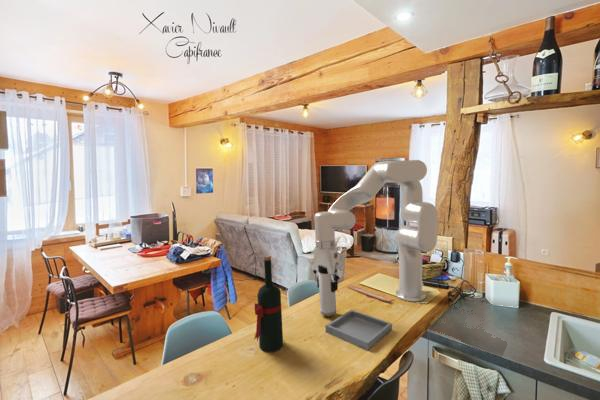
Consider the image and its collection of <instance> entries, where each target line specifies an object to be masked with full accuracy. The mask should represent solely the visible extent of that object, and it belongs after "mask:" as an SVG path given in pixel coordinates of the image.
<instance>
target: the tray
mask: <svg viewBox="0 0 600 400" xmlns="http://www.w3.org/2000/svg"><path fill="white" fill-rule="evenodd" d="M324 327H325V333H327V334H328V335H332V336H333V337H334V338H335V337H336V338H338V339H340V340H343V341H345V342H348V343H350V344H351V345H354V346H356V347H359V348H360V349H363V350H364V351H367V352H368V351H369V350H370V349H372V348H373V347H374V346H376V345H377V344H378V343H379V342H380V341H381V340H382V339H384V338H385V337H387V335H389V333H391V332H392V331H393V323H391V322H389V321H386V320H383V319H379V318H376V317H374V316H372V315H368V314H365V313H363V312H359V311H357V310H354V309H350V310H348V311H347V312H344V313H343V314H341V315H340V316H338V317H337V318H335V319H334V320H332V321H330V322H329V323H327V324H325V326H324Z"/></svg>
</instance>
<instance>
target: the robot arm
mask: <svg viewBox="0 0 600 400" xmlns="http://www.w3.org/2000/svg"><path fill="white" fill-rule="evenodd" d="M427 171H428V168H427V165H426V163H425V162H424V161H422V160H420V159H412V160H411V159H409V160H385V161H377V162H376V163H374V164H373V165H372V166H371V167H370V168H369V170H367V172H366V173H365V174H364V176H362V178H361V179H360V180H359V182H357V183H356V184H355V186H354V187H351V188H350V189H349V190H347V192H345V193H343V194H342V195H341V196H339V197H338V199H336V200H335V202H333V204H332V205H331V206H330V207H329V209H328V210H327V211H318V212H316V213H315V214H314V217H313V219H314V236H315V247H314V252H313V263H312V264H311V265H310V268H311V270H312V272H313V273H314V275H315V278H316V283H317V289H319V275H318V270H319V269H318V265H319V266H321V267H322V268H327V270H328V271H327V272H328V274H329V275H330V277H331V279H332V282H331V291H332V292H335V293H336V292H337V291H338V290H339V289H338V287H339V284H338V281H340V279H342V277H343V276H344V274H345V273H344V271H343V270H342V269H341V261H340V260H341V259H340V253H339V250H338V247H337V246H338V243H337V242H336V236H335V235H336V234H335V233H336V232H335V231H347V230H351V229H352V228H353V227H354V226H355V225H356V221H357V219H356V216H355V214H354V213H353V212H351V210H353V208H355V207H357V206H359V205H361V204H365V203H368V202H370V201H372V200H373V199H374V198H375V197H376V195H377V194H378V193H379V191H380V190H381V189H382V188H383V187H384V185H385V184H387V183H398V184H399V187H400V189H401V207H400V217H401V219H402V220H403V221H405V222H407V223H410V224H406V225H402V226H401V227H400V228H398V229H397V232H396V241H397V248H398V278H399V279H398V282H399V283H398V289H396V290H395V297H396V298H398V299H400V300H403V301H405V302H406V301H407V302H421V301H424V300H426V298H427V295H426V293H425V292H424V291H423V287H424V285H425V284H424V282H423V256H422V255H423V254H422V252H423V253H429V252H432V251H433V250H435V248H436V246H437V242H438V232H439V229H438V228H439V212H438V209H437V207H436V206H435V205H434V204H433V203H431V202H427V201H425V202H424V201H423V200H424V199H423V195H424V194H423V187H422V183H421V182H420V181H422V180H423V179H424V178H425V177H426V175H427V173H428V172H427ZM411 224H415V225H417V226H415V225H411ZM334 276H335V278H334Z"/></svg>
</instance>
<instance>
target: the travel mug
mask: <svg viewBox="0 0 600 400" xmlns="http://www.w3.org/2000/svg"><path fill="white" fill-rule="evenodd" d="M318 269H319V270H318V275H319V288H318V290H319V309H320V314H321V315H322V316H327V317H328V316H329V317H330V316H334V315H335V314H336V313H337V300H336V299H337V298H336V291H335V292H332V291H331V282H332V279H331V277H330V275H329V274H328V272H327V271H328V270H327V268H322V267H321V266H319V265H318ZM334 278H335V276H334Z"/></svg>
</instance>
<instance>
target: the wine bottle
mask: <svg viewBox="0 0 600 400" xmlns="http://www.w3.org/2000/svg"><path fill="white" fill-rule="evenodd" d="M271 258H272V255H268V254H267V255H264V256H263V259H264V261H263V262H264V283H265V284H263V285H261V287H260V288H259V289H258V292H257V303H256V302H255V303H254V314H255V316H256V331H255V335H254V339H253V340H255V339H256V342H258V341H259V342H258V343H259V346H258V347H259V349H260V351H262V352H265V353H274V352H277V351H280V350H281V349H282V348H283V347H284V339H283V338H284V335H283V318H282V317H283V316H282V315H283V314H282V296H281V295H282V294H281V293H282V292H281V290H280V288H279V287H278V286H277V285H276V284H274V283H273V275H272V274H273V273H272V259H271Z"/></svg>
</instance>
